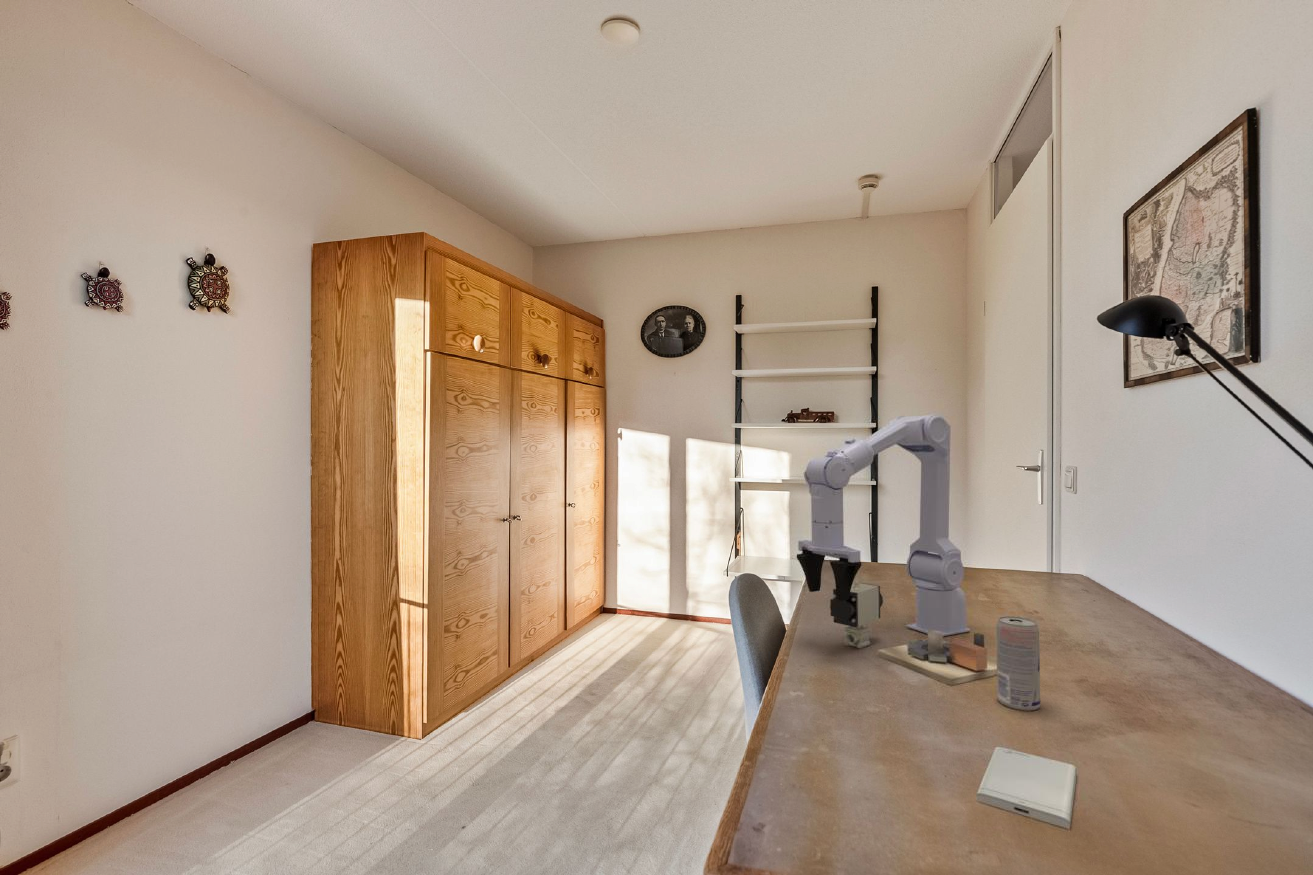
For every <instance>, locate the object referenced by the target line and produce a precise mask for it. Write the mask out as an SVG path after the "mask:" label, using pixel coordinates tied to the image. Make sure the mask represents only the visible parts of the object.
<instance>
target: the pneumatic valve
mask: <svg viewBox="0 0 1313 875" xmlns="http://www.w3.org/2000/svg"><path fill="white" fill-rule="evenodd" d="M832 592H833V593H832V594H833V595H832V598H831V599H830V604H829V609H830V617H832V618H833V623H834V624H839V625H844V626H845V627H844V632H845V636H844V640H845V641H844V645H846V646H847V647H849V646H852V647H855V648H858V649H859V650H860V649H862V648H866V647H867V646H869V645H870V644H871V642H870V636H871V633H870V631H871V628H870V627H869V626H865V627H864V625H868V624H869V623H871V622H874V621H877V620H879V619H881V608H882V606H883V602H884V600H883V599H884V598H883V595H882V593H881V586H880V585H878V584H877V585H876V584H871V583H865V582H860V581H859V580H858V581H857V580H855V581H853V584H852V587H851V591H850V595H849V599H848V600H843V601H839V600H837V596H836V588H833V589H832Z"/></svg>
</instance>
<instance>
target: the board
mask: <svg viewBox="0 0 1313 875" xmlns="http://www.w3.org/2000/svg"><path fill="white" fill-rule="evenodd" d="M943 639H944V636H943V633H942V632H940V631H936V630H929V631H928V634H927V640H928V649H924V650H927V651H930V652H938V653H944V652H945V651H943V643H949V642H948V641H945V640H943ZM923 641H924V642H925V640H923ZM973 644H974V645H977V646H980V647H983V648H985V635H984V634H982V633H973ZM876 652H877V656H878V657H880V658H883V659H885V660H887V661H890V662H892V663H895V664H897V665H900V666H902V667H904V668H907V669H909V670H912V671H915V672H917V673H919V674H921V675H924V676H927V677H929V678H932V679H934V680H937V681H939V682H941V683H944V684H946V685H949V686H955V685H961V684H963V683H968V682H973V681H977V680H981V679H986V678H988V677H993V676H997V657H992V656H990V655H987V669H982V670H978V671H976V670H973V669H970V668H967V667H965V666H962V665H959V664H956V663H954V662H950V661H947V662H939V661H929V660H928V658H927V659H921V658H919V657H916V656H913V655H911V654H910V653H908V649H907V644H903V645H897V646H892V647H887V648H880V649H877V651H876Z"/></svg>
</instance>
